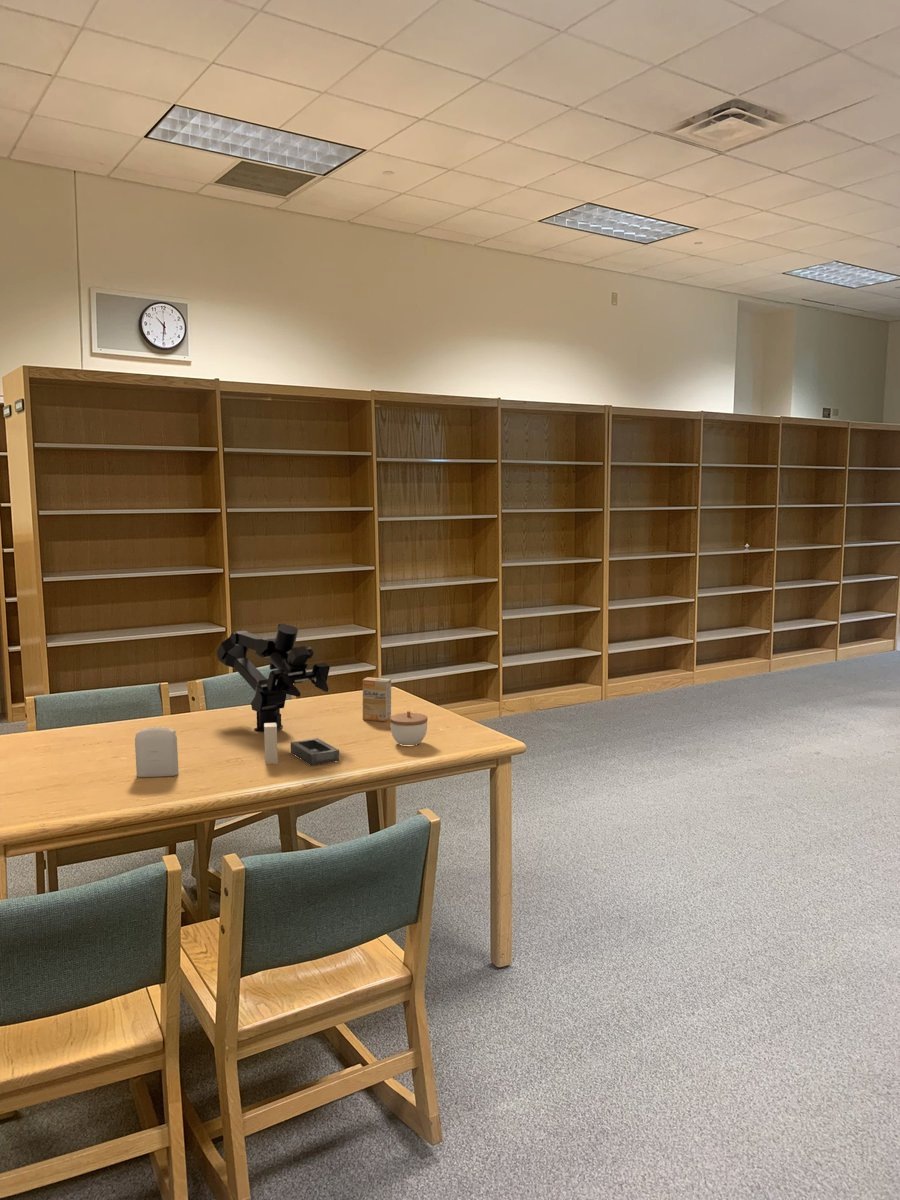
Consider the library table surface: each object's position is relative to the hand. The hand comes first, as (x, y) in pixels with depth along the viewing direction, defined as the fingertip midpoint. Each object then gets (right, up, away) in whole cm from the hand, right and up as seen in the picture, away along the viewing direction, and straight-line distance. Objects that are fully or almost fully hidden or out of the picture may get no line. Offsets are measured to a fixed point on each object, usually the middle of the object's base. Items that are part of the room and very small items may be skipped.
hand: (313, 692), depth 242 cm
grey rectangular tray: (+1, -17, -8) cm, 18 cm away
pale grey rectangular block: (-10, -17, -12) cm, 23 cm away
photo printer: (-36, -19, -23) cm, 47 cm away
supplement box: (+15, -12, +33) cm, 38 cm away
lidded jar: (+26, -15, +5) cm, 31 cm away
